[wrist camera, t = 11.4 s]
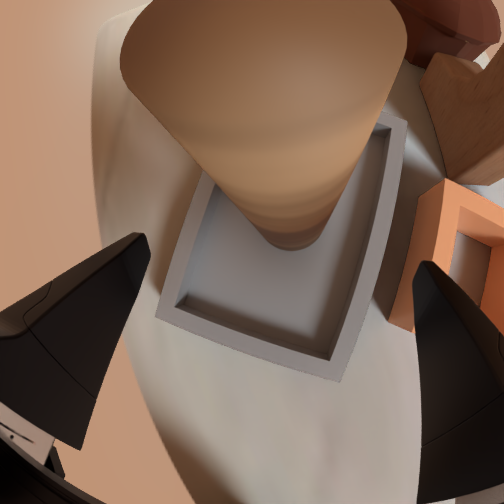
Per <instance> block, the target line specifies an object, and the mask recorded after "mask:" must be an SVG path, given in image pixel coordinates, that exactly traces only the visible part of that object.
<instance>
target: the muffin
mask: <svg viewBox="0 0 504 504" xmlns="http://www.w3.org/2000/svg"><path fill="white" fill-rule="evenodd" d="M390 1H391V2H392V4H393V5H394V6H395V7H396V9H397V10H398V12H399V13H400V15H401V17H402V20H403V22H404V24H405V28H406V33H407V48H406V52H405V55H404V58H406V59H407V60H408V61H409V62H410V63H411V64H414V65H417V66H419V67H422V68H425V69H427V67H428V65H429V63H430V62H431V60H432V58H433V56H434V54H435V53H437V52H439V53H444V54H448V55H452V56H456V57H459V58H463V59H466V60H470V61H474V60H475V59H476V58H477V57H478V56H479V55H480V54H481V53H482V52H484V51H485V50H486V49H487V48H488V47H489V46H490V45H493V44H495V43H498V42H499V40H500V36H501V30H500V19H499V15H498V12H497V9H496V7H495V6H494V4H493V2H492V1H491V0H390Z"/></svg>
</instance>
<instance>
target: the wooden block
mask: <svg viewBox="0 0 504 504" xmlns="http://www.w3.org/2000/svg"><path fill="white" fill-rule="evenodd" d="M420 89H421V91H422V94H423V96H424V99H425V102H426V104H427V107H428V110H429V113H430V116H431V119H432V122H433V125H434V128H435V131H436V134H437V138H438V141H439V145H440V148H441V152H442V156H443V159H444V163H445V168H446V172H447V176H448V180H451V181H453V182H455V183H457V184H468V185H486V186H489V185H491V184H493V183H495V182H497V181H498V180H500V179H502V178H504V43H503V44H502V46H501V47H500V49H499V50H498V51H497V53H496V54H495V55H494V57H493V58H492V60H491V61H490V62H489V64H488V65H487V66H486V68H485V69H484V70H483V69H482V68H481V66H480V65H479V64H477V63H476V62H473V61H470V60H466V59H463V58H459V57H456V56H452V55H448V54H444V53H439V52H437V53H435V54H434V56H433V58H432V60H431V62H430V63H429V65H428V67H427V69H426V71H425V73H424V75H423V77H422V78H421V80H420Z"/></svg>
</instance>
